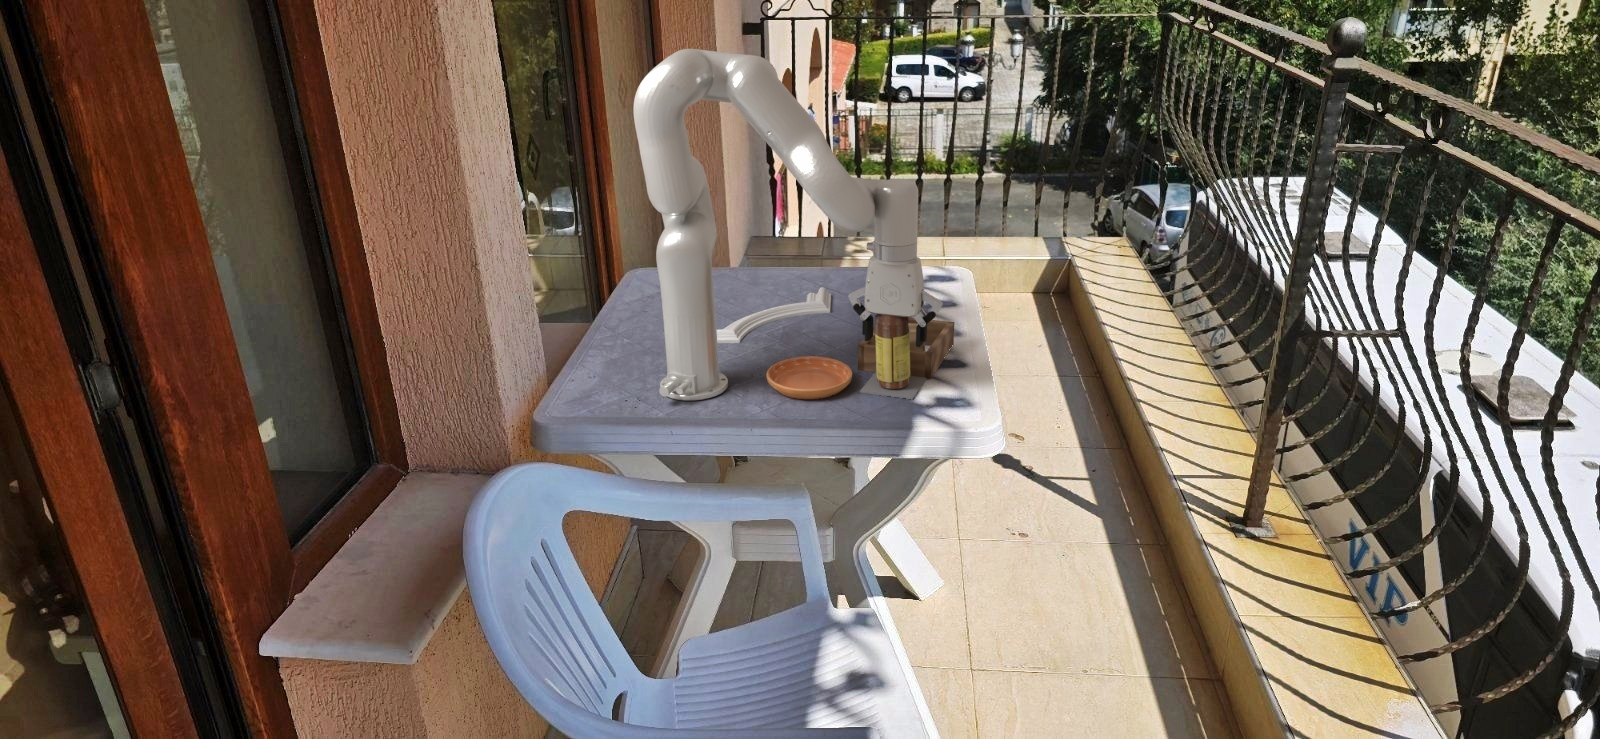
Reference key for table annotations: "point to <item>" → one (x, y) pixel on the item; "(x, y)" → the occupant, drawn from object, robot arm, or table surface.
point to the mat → (906, 392)
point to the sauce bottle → (892, 351)
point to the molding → (775, 316)
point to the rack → (920, 361)
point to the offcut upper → (914, 337)
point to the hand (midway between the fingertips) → (894, 341)
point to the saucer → (809, 377)
